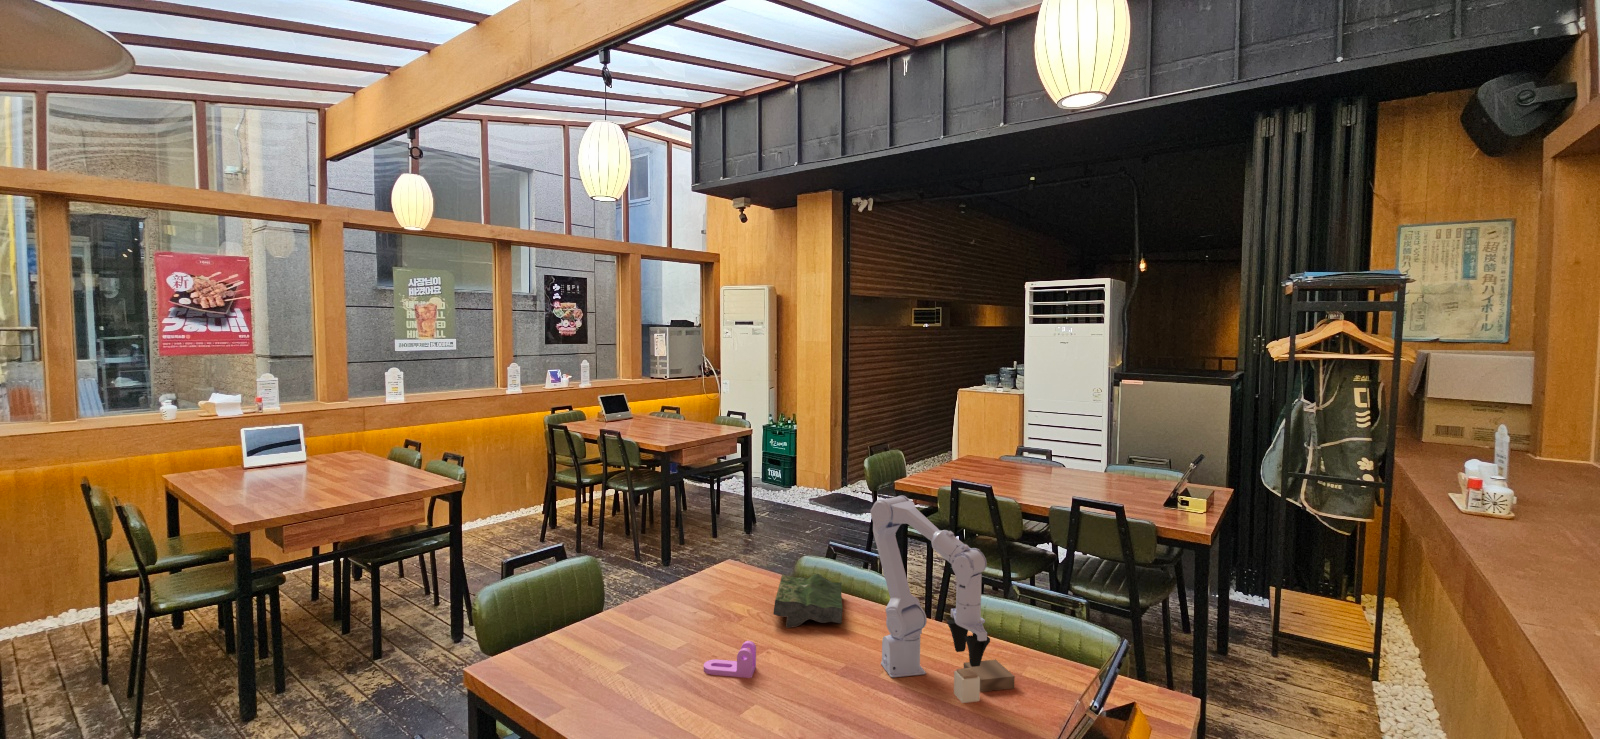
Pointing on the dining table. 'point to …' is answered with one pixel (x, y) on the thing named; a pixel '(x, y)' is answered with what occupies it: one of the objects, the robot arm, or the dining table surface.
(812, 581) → the landscape model
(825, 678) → the dining table surface
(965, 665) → the block
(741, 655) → the bracket
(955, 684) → the cream cardboard box
